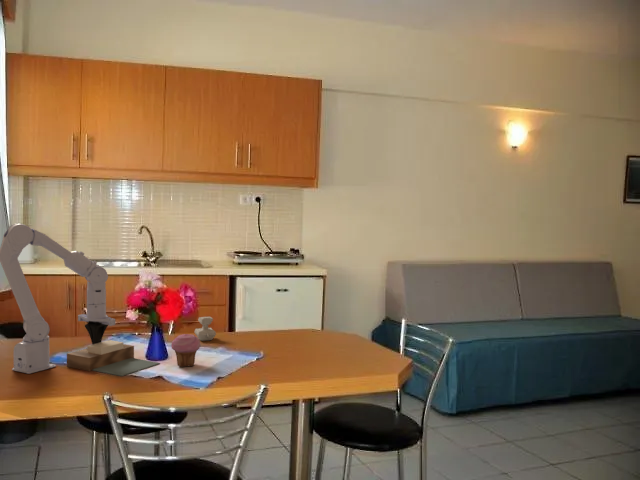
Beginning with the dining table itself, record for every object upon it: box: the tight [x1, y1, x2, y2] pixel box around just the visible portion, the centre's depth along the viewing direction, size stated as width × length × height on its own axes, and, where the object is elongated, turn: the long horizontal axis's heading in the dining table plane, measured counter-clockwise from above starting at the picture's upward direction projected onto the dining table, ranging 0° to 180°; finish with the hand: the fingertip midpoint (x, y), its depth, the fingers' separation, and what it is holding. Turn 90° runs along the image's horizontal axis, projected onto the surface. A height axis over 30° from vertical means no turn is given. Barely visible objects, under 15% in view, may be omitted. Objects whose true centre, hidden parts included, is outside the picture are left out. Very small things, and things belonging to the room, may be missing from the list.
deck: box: [66, 343, 135, 372], centre depth 189 cm, size 18×10×4 cm, turn 153°
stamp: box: [194, 316, 217, 342], centre depth 222 cm, size 9×7×8 cm
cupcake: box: [171, 333, 201, 368], centre depth 187 cm, size 9×9×10 cm
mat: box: [92, 357, 161, 377], centre depth 184 cm, size 16×12×1 cm
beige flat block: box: [86, 339, 124, 355], centre depth 188 cm, size 9×6×2 cm, turn 153°
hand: (96, 345), depth 190 cm, fingers closed
